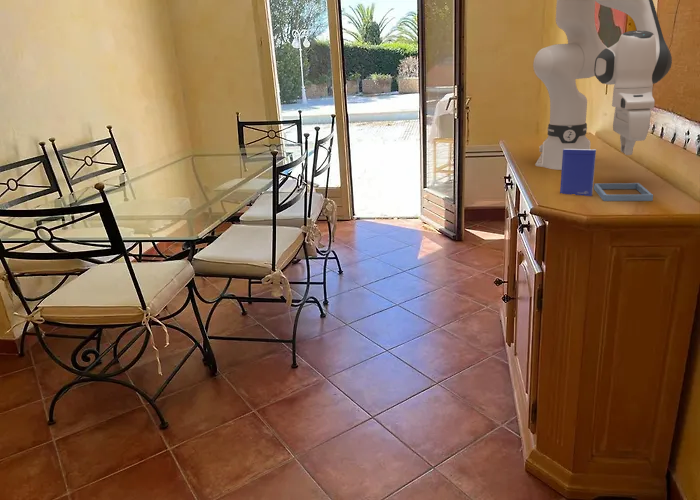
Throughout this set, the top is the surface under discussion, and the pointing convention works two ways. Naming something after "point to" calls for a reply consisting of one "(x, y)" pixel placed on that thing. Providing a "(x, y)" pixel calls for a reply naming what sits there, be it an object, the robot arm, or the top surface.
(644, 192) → the frame
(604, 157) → the top surface
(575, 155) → the hard drive
